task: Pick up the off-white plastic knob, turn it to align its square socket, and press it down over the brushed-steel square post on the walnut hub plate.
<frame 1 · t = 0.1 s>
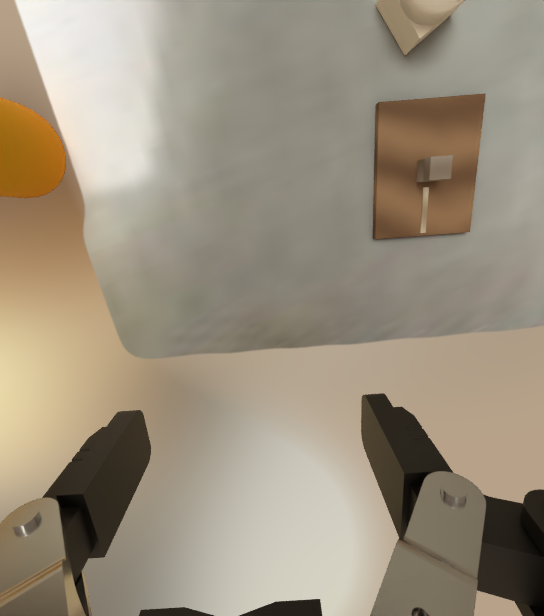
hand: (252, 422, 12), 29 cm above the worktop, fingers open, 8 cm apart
knob: (413, 10, 32), on the worktop
beer bottle: (28, 154, 35), on the worktop
hub plate: (422, 171, 36), on the worktop
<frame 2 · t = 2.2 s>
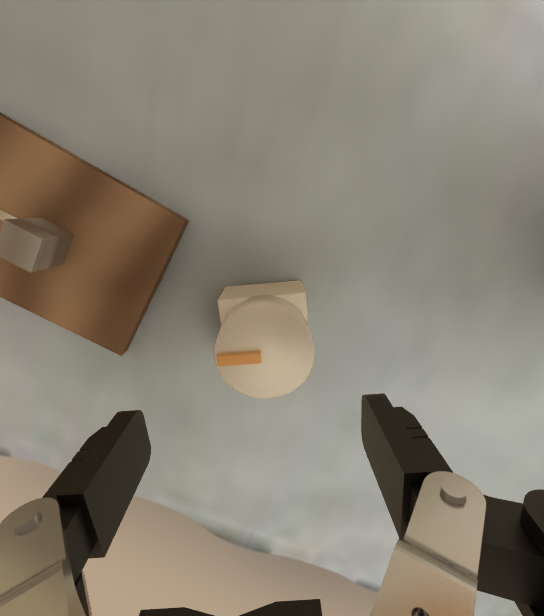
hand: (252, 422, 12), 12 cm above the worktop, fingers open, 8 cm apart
knob: (266, 319, 24), on the worktop
hub plate: (62, 239, 22), on the worktop
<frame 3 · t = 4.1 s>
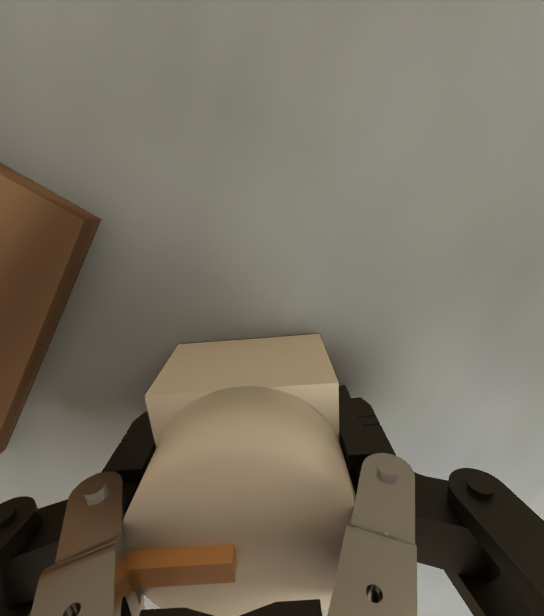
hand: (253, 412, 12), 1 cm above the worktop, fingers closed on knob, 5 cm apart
knob: (255, 400, 13), on the worktop, touching gripper
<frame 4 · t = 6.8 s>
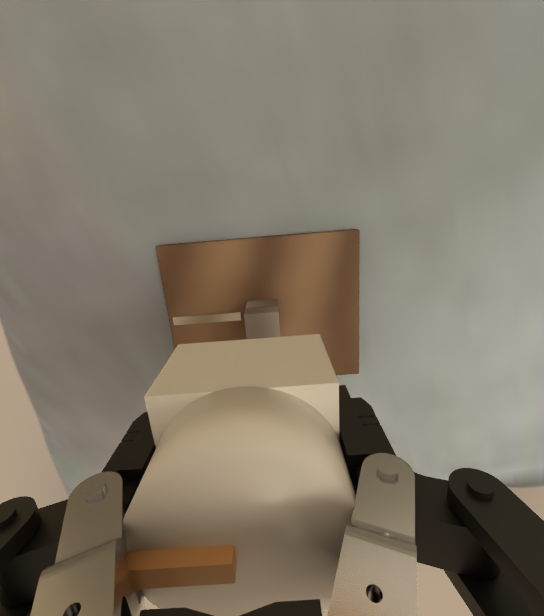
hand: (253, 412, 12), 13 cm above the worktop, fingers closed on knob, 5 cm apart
knob: (255, 400, 13), point 12 cm above the worktop, touching gripper
hub plate: (264, 309, 24), on the worktop
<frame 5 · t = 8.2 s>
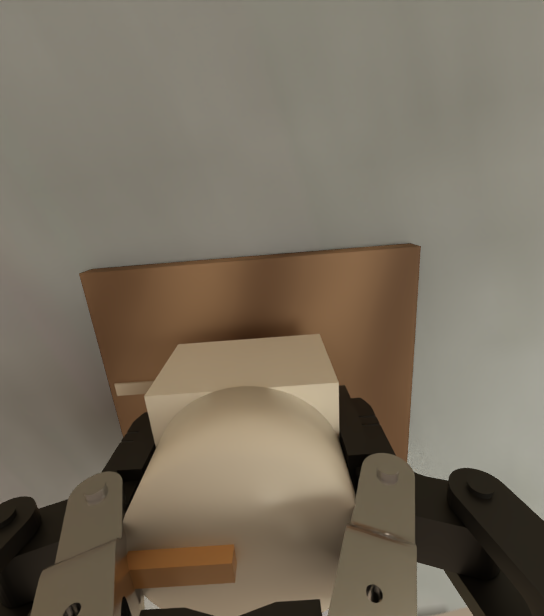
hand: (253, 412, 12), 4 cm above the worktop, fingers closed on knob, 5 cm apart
knob: (255, 400, 13), point 3 cm above the worktop, touching gripper
hub plate: (260, 368, 16), on the worktop
when the fingers open (2 cm above the worktop, at t = 9.4 s): knob stays where it is, resting on hub plate.
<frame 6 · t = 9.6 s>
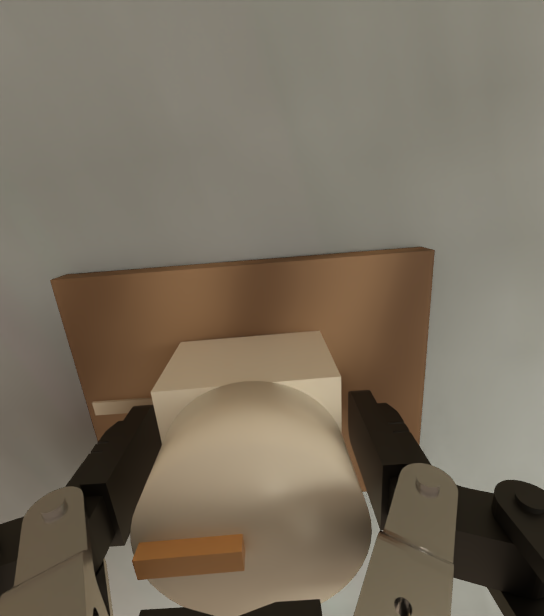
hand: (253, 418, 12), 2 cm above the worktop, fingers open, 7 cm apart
knob: (256, 396, 13), point 1 cm above the worktop, touching hub plate
hub plate: (255, 383, 14), on the worktop
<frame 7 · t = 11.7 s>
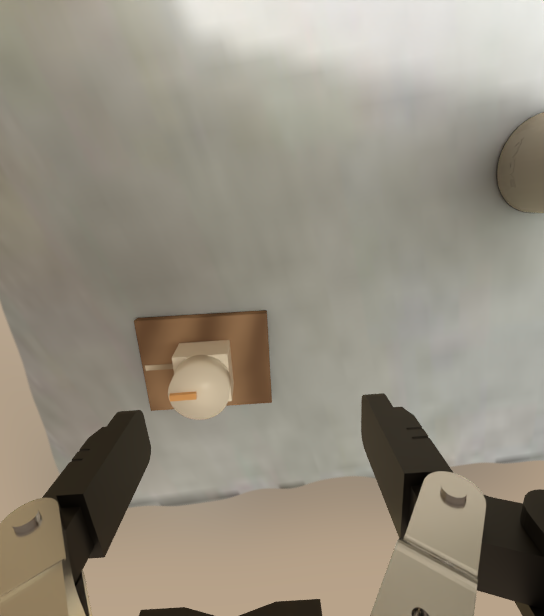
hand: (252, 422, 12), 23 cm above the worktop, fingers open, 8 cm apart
knob: (207, 363, 35), point 1 cm above the worktop, touching hub plate
hub plate: (207, 359, 36), on the worktop
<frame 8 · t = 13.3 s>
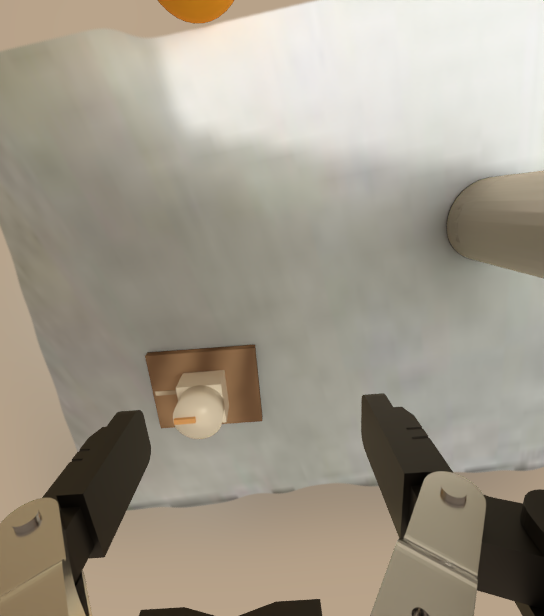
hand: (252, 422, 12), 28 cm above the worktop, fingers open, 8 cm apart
knob: (206, 389, 42), point 1 cm above the worktop, touching hub plate
hub plate: (207, 385, 43), on the worktop
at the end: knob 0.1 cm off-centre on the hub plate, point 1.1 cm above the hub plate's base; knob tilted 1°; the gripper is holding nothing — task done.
